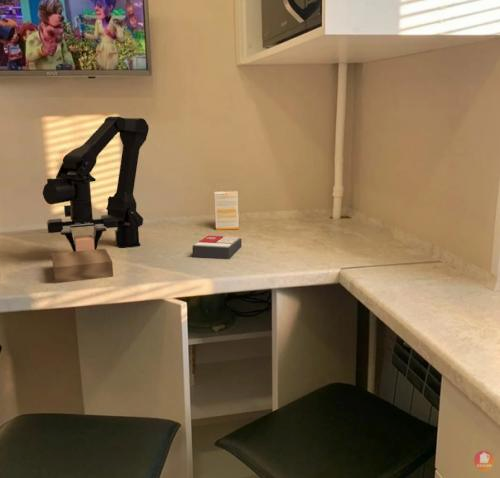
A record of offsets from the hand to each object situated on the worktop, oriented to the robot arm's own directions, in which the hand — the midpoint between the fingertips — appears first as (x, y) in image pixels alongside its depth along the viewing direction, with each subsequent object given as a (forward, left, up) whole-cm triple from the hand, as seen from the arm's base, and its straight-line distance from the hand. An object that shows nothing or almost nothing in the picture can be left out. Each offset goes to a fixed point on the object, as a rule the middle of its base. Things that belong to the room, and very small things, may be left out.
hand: (85, 253), depth 158 cm
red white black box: (-37, +8, -2) cm, 38 cm away
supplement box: (-50, -21, -2) cm, 54 cm away
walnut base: (+2, +14, -2) cm, 14 cm away
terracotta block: (0, 0, -2) cm, 2 cm away
